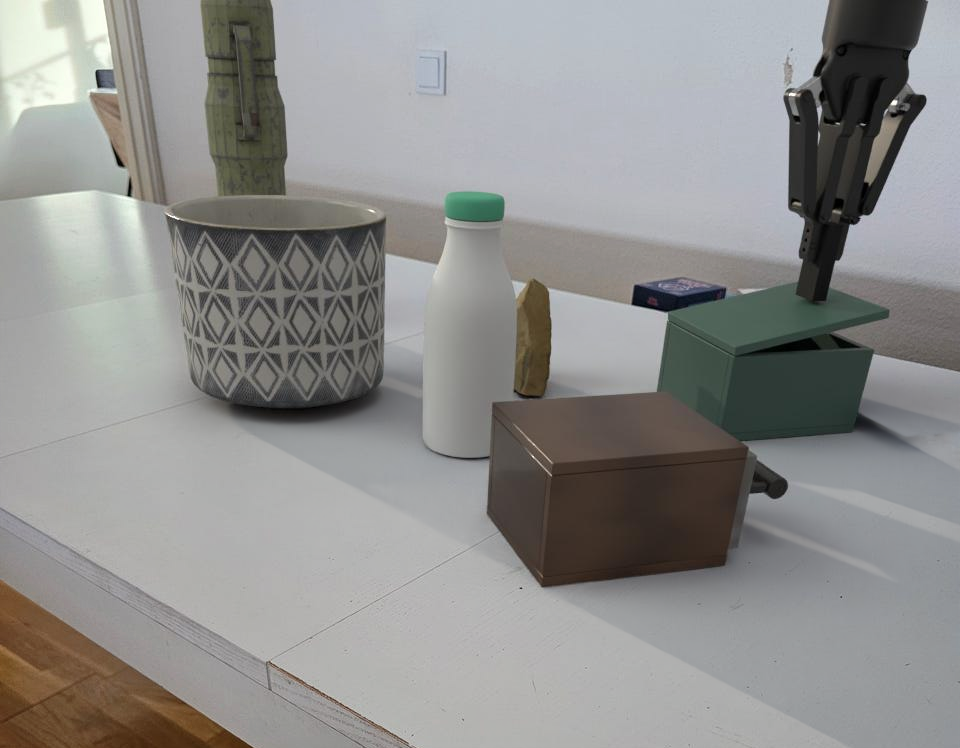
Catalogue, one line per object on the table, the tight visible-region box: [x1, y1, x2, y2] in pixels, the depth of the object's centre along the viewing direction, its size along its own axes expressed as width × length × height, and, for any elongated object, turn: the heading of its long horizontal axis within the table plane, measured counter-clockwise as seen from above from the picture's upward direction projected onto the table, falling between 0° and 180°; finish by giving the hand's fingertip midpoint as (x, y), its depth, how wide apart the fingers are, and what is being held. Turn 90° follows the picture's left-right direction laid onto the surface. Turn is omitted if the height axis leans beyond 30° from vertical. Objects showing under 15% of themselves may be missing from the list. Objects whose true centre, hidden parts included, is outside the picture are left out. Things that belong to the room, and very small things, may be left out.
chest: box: [656, 320, 875, 442], centre depth 90 cm, size 15×13×8 cm
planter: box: [164, 194, 387, 410], centre depth 87 cm, size 19×19×16 cm
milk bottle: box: [422, 190, 517, 459], centre depth 76 cm, size 8×8×20 cm
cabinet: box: [486, 391, 750, 588], centre depth 65 cm, size 14×12×9 cm
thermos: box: [199, 0, 289, 197], centre depth 108 cm, size 9×12×35 cm
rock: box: [514, 278, 553, 397], centre depth 95 cm, size 11×9×10 cm
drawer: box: [728, 449, 789, 550], centre depth 66 cm, size 17×10×7 cm, turn 108°
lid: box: [667, 281, 891, 356], centre depth 87 cm, size 15×13×1 cm
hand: (810, 297), depth 87 cm, fingers closed
